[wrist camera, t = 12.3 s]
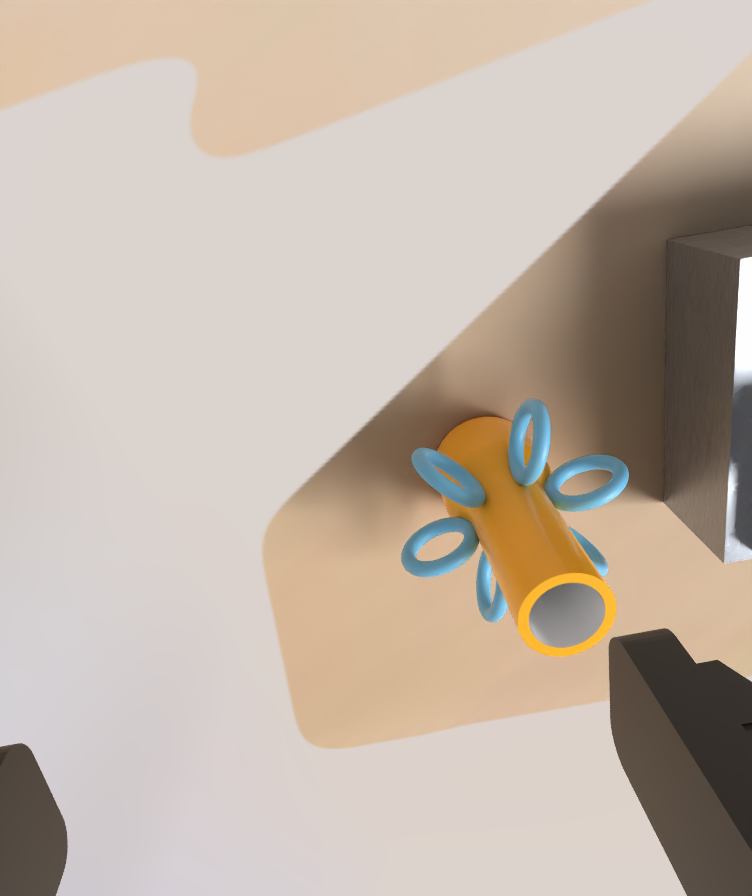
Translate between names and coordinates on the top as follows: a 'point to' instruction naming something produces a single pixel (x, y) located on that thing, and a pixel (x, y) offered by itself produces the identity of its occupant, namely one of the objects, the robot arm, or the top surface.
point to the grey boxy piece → (710, 389)
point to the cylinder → (520, 529)
